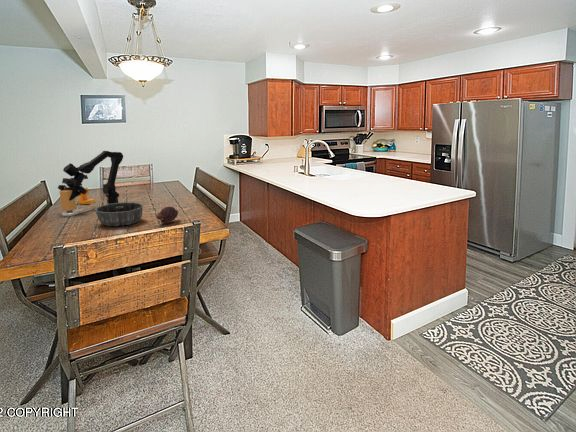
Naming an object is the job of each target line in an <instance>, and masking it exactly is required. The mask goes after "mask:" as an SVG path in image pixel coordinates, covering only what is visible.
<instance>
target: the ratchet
mask: <svg viewBox="0 0 576 432" xmlns="http://www.w3.org/2000/svg"><path fill="white" fill-rule="evenodd" d="M93 209H94V208H93V206H85V207H82V208H78V209H74V210H70V211H66V210H65V211H63V212H61V216H62V217H67V218H69V217H75V216H78V214H81V213H86V212H88V211H93Z"/></svg>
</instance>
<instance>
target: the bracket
mask: <svg viewBox="0 0 576 432" xmlns="http://www.w3.org/2000/svg"><path fill="white" fill-rule="evenodd" d="M84 188H85V189H86V191H87V192H86V194H82V193H81V195H79V196H77V197H78V201H77V202H78V205H92V204H94V202H95V198H89V197H88V195H89V188H88V187H84Z"/></svg>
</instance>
